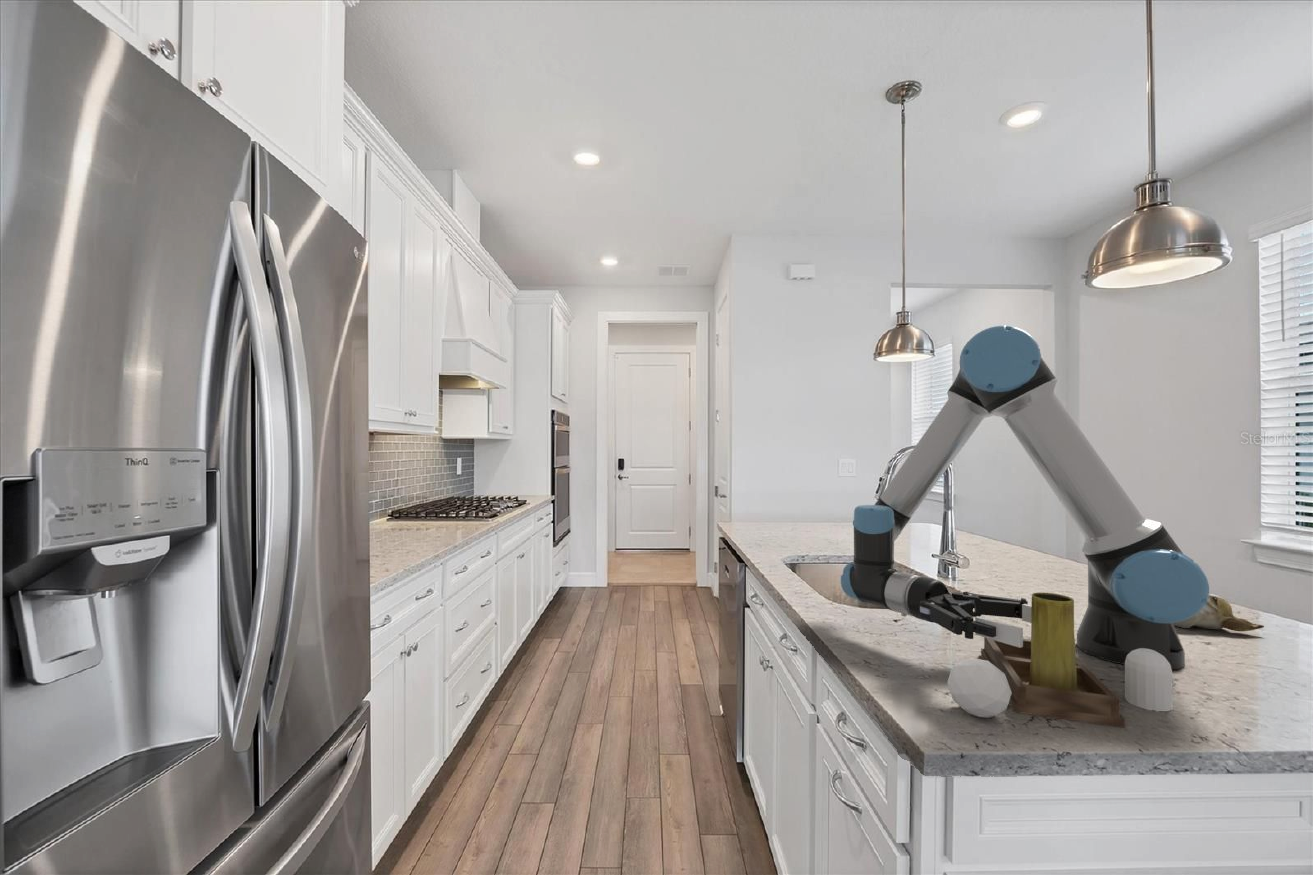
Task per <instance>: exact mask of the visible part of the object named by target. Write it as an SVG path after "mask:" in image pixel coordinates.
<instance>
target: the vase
mask: <svg viewBox="0 0 1313 875" xmlns="http://www.w3.org/2000/svg"><path fill="white" fill-rule="evenodd" d="M1031 605H1032V606H1031V623H1030V624H1031V627H1030V628H1031V629H1030V630H1031V631H1030V634H1031V636H1030V640H1031V663H1030V679H1029V685H1032V686H1040V687H1048V688H1055V689H1063V690H1071V691H1077V673H1076V657H1077V656H1076V654H1077V653H1076V640H1075V600H1074V598H1072V597H1070V596H1068V595H1063V594H1060V593H1059V594H1058V593H1053V592H1033V593H1031Z"/></svg>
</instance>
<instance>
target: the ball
mask: <svg viewBox="0 0 1313 875" xmlns="http://www.w3.org/2000/svg"><path fill="white" fill-rule="evenodd" d="M946 683H947V685H948V686H947V687H948V688H949V691H950V694H951V698H952V700H953V701H954V702H955V703H956V705H958V706H959V707H960V708H961V709H963V710H964V711H965V712H966V713H967V714H969V715H972V716H976V717H978V718H989V719H990V718H991V717H994V716H997V715H999V714H1001V713H1002V712H1004V711H1006V710H1007V708H1008V705H1010V704H1009V700H1010V697H1011V694H1012V692H1011V689H1010V687H1009V684H1008V681H1007V678H1006V676H1005V674H1004V673H1003V672H1002V671H1000V670H999V669H998V668H997V667H995V666H994V665H993V664H992V663H990V662H989V661H987V660H984V659H979V658H973V657H967V658H965V659H963V660H962V661H960V662H958V663H956V664H954V665H952V668H951V671H950V673H949V676H948V679H947V682H946Z"/></svg>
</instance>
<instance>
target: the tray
mask: <svg viewBox="0 0 1313 875" xmlns="http://www.w3.org/2000/svg"><path fill="white" fill-rule="evenodd" d="M983 640H984V642H983V644H984V645H983V646H984V647H983V648H981V649H980V655H981V658H982V660H987V661H989V662H990V663H992V664H993V665H994V666H995V667H997V668H998V669H999V670H1000V671H1002V672H1003V673H1004V674H1005V676H1006V678H1007V681H1008V684H1009V687H1010V689H1011V692H1012V694H1011V697H1010V700H1009V704H1008V705H1009V706H1010V707H1011V710H1012V712H1014V713H1021V714H1028V715H1034V716H1035V715H1036V716H1042V717H1049V718H1056V719H1057V718H1058V719H1063V720H1070V721H1076V722H1083V723H1084V722H1085V723H1091V724H1098V725H1106V726H1113V727H1117V728H1125V725H1126V724H1125V717H1124V716H1123V715H1122V714H1121V700H1120V698H1119V697H1118V696H1117V695H1116V694H1115V693H1114V692H1113V691H1112V690H1111V689H1110V688H1109V687H1108V686H1107V685H1106V684H1105V683H1104V682H1102V680H1101V679H1100V678H1098V676H1096V675H1095V673H1093V671H1091V669H1089V667H1088V666H1087V665H1085V664H1084V663H1083V661H1081V660H1080V659H1079V657H1077V656H1076V673H1077V691H1071V690H1063V689H1055V688H1048V687H1040V686H1032V685H1029V679H1030V663H1031V639H1027V638H1023V647H1021V648H1019V647H1016V646H1012V645H1009V644H1006V643H1002V642H999V641H995V640H992V639H989V638H985V637H983Z"/></svg>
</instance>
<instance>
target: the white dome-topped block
mask: <svg viewBox="0 0 1313 875" xmlns="http://www.w3.org/2000/svg"><path fill="white" fill-rule="evenodd" d="M1173 686H1174V685H1173V669H1171V665H1170V663H1169V662H1168V661H1167V659H1166V658H1165V657H1164V656H1163V655H1161V654H1159V653H1158V652H1156V651H1154V650H1151V649H1146V648H1139V649H1136V650H1133V651H1131V652H1130V653H1129V654H1128V655H1127V656H1126V660H1125V664H1124V698H1125V701H1127V702H1128V703H1129V704H1131V705H1133V706H1135V707H1138V708H1140V709H1145V710H1147V711H1152V710H1155V711H1154V712H1159V711H1170V710H1171V711H1173V710H1174V709H1173V705H1174V703H1173V697H1174V695H1173ZM1171 711H1170V712H1171Z"/></svg>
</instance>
